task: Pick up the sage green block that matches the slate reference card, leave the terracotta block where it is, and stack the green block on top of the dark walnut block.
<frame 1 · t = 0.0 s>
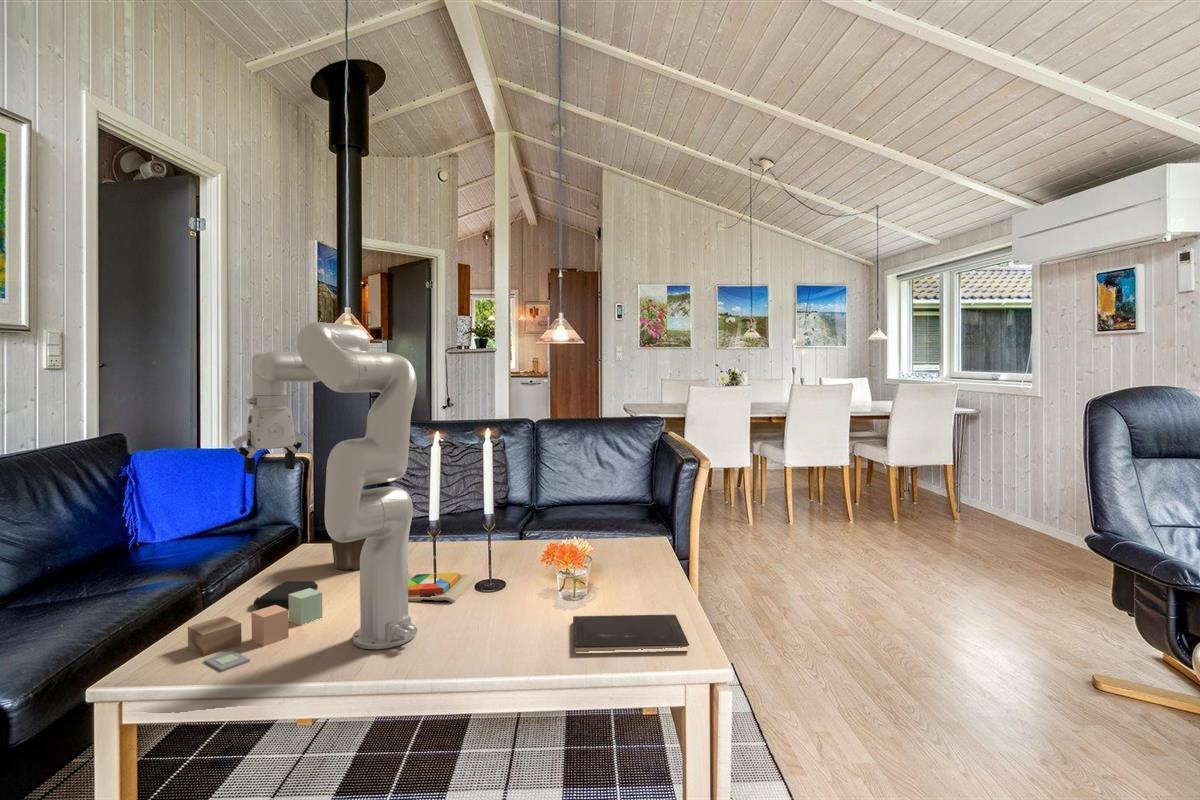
hand: (270, 471, 152), 31 cm above the table, tool pointing down, fingers open, 9 cm apart
carrying case or bag: (285, 601, 149), on the table
sage block: (305, 619, 137), on the table
plant pot: (356, 565, 178), on the table
reference card: (227, 661, 116), on the table
wooden puzzle: (430, 592, 157), on the table
terracotta block: (270, 639, 127), on the table
hardcover book: (627, 640, 128), on the table
walnut base: (215, 646, 123), on the table
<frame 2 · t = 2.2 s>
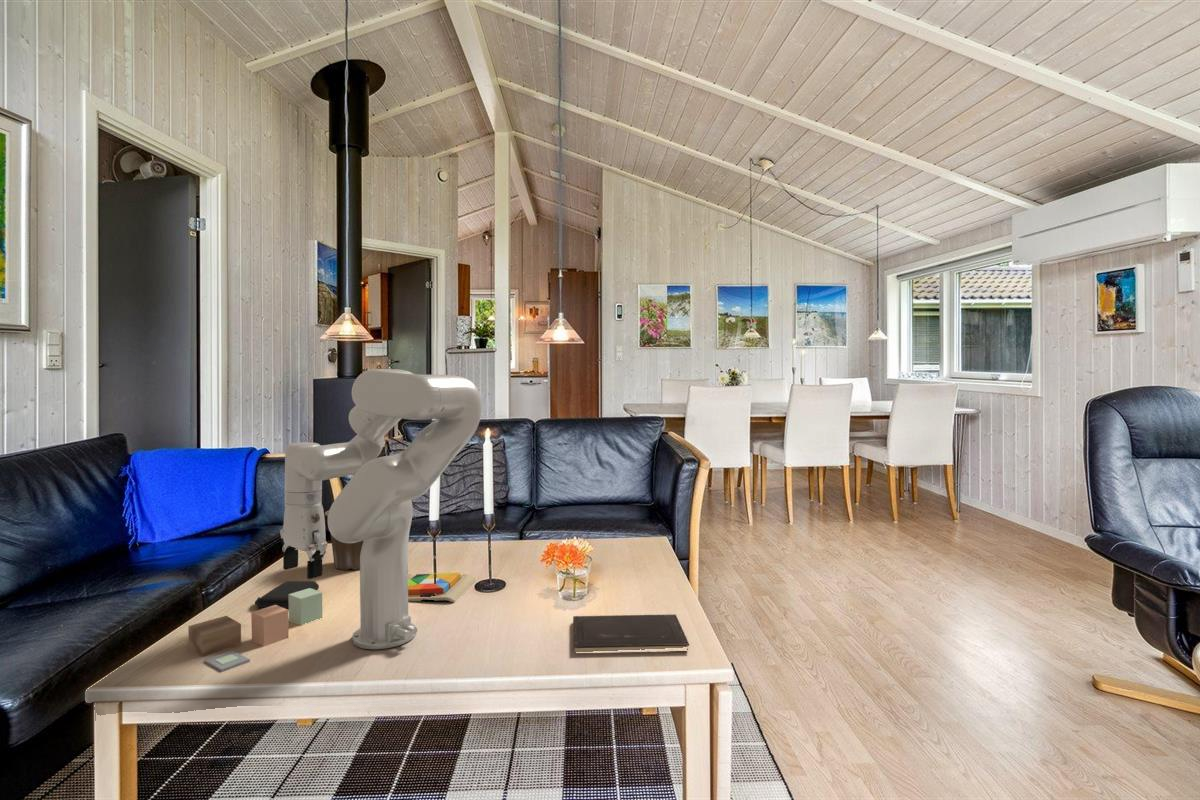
hand: (302, 572, 137), 11 cm above the table, tool pointing down, fingers open, 9 cm apart
nothing on the table moved.
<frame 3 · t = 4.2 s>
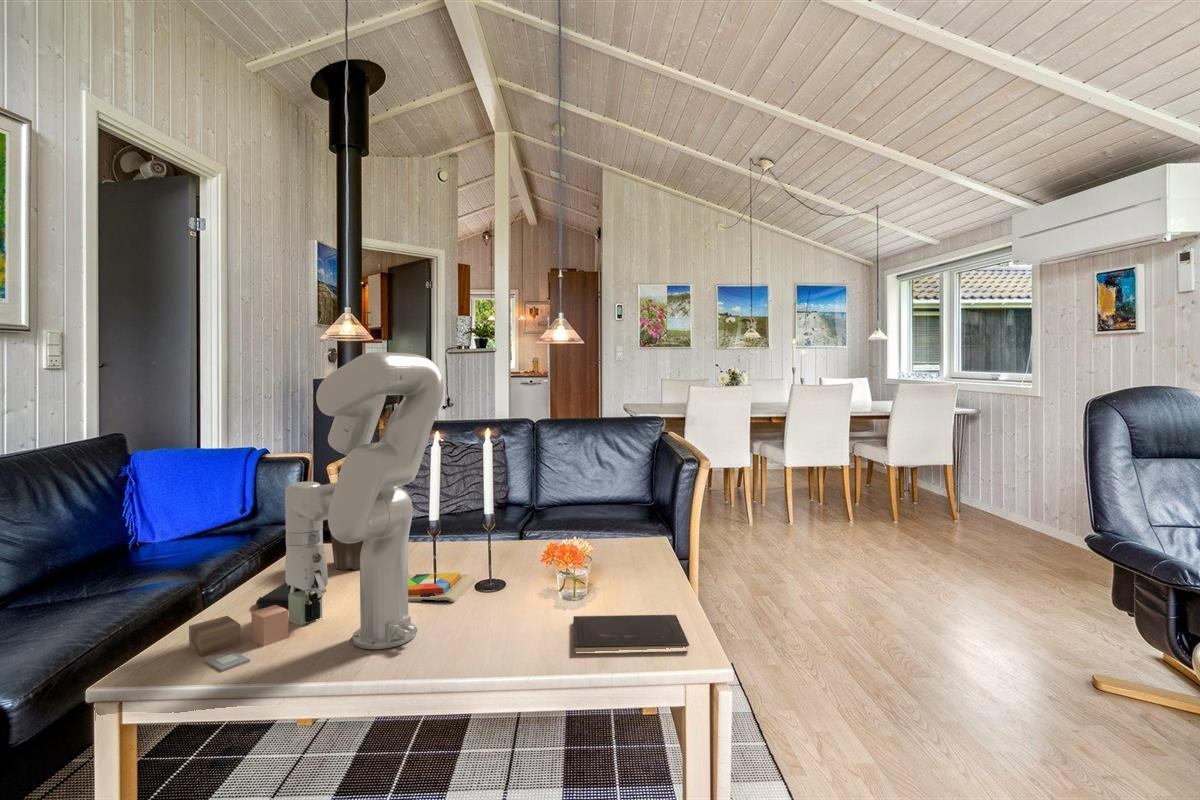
hand: (305, 616, 137), 1 cm above the table, tool pointing down, fingers closed on sage block, 5 cm apart
sage block: (305, 619, 137), on the table, touching gripper
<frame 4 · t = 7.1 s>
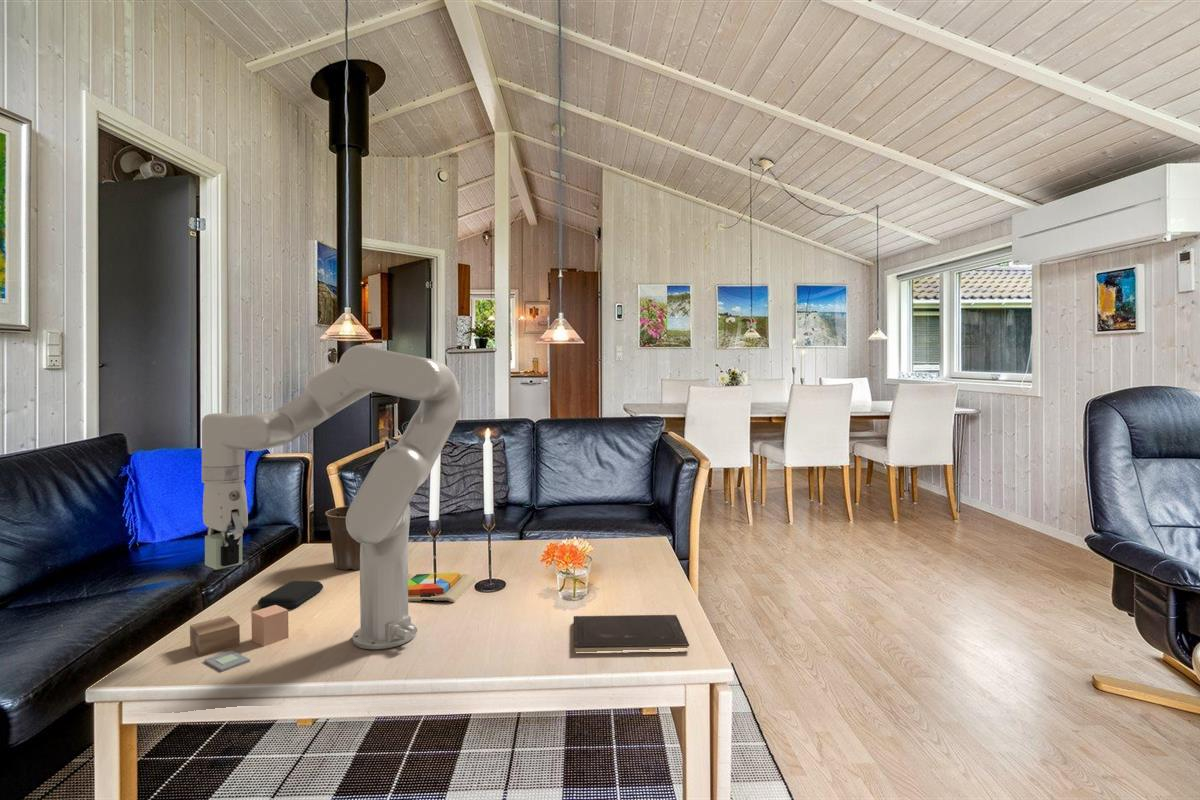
hand: (223, 561, 125), 17 cm above the table, tool pointing down, fingers closed on sage block, 4 cm apart
sage block: (223, 564, 125), point 16 cm above the table, touching gripper
when the fingers open (7 cm above the table, at t = 10.0 s): sage block drops 2 cm, point 4 cm above the table.
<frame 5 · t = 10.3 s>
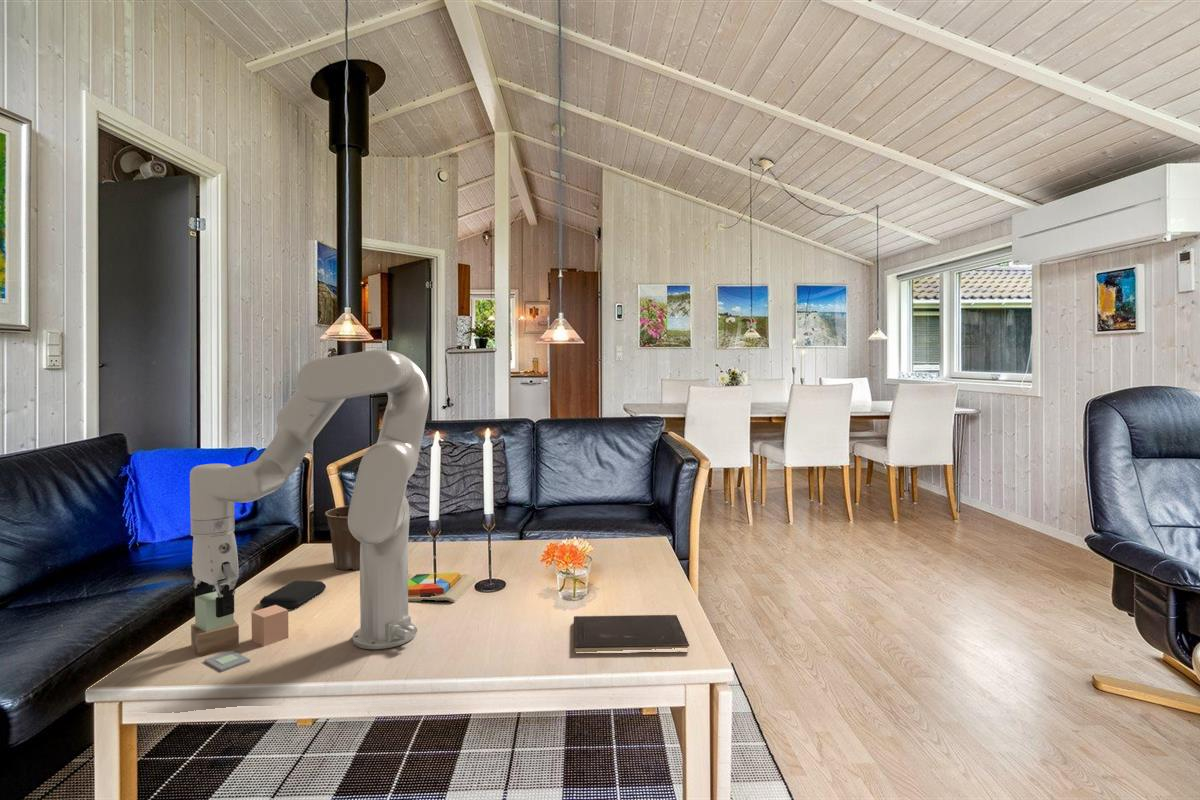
hand: (214, 610, 123), 7 cm above the table, tool pointing down, fingers open, 8 cm apart
sage block: (214, 624, 123), point 4 cm above the table
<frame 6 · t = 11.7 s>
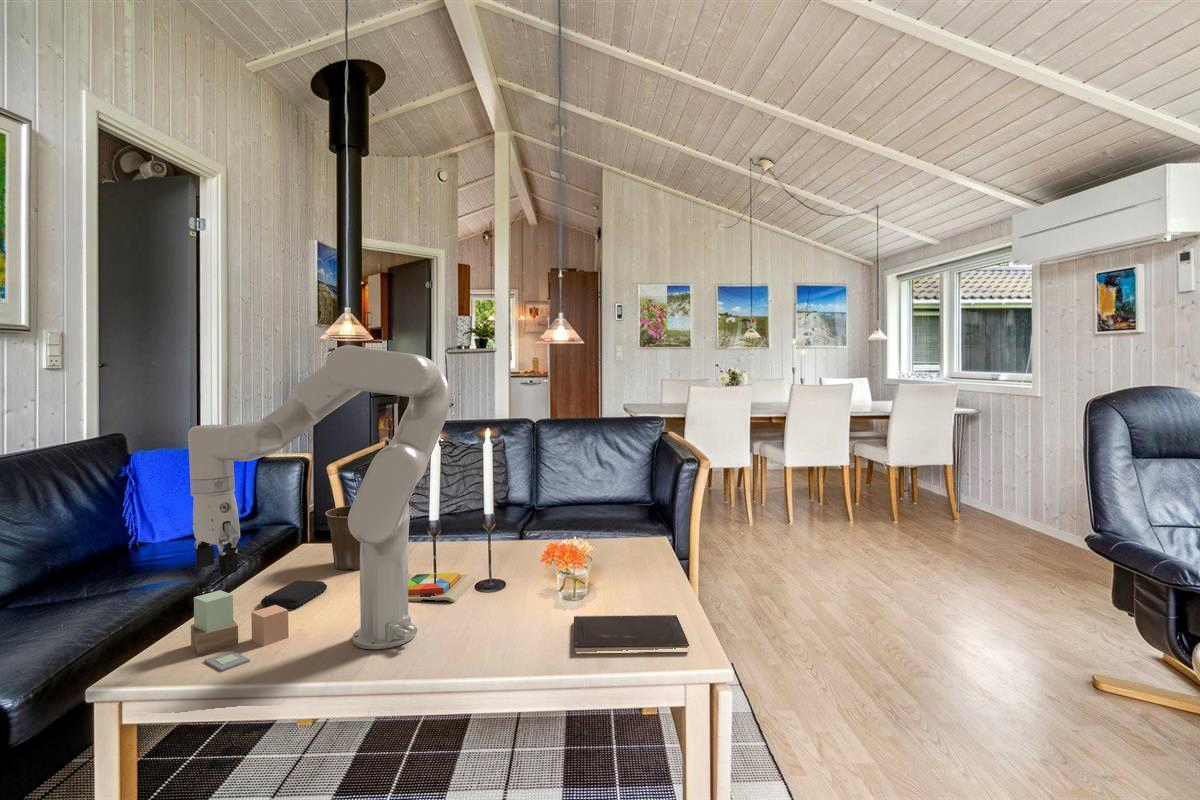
hand: (216, 569, 123), 16 cm above the table, tool pointing down, fingers open, 9 cm apart
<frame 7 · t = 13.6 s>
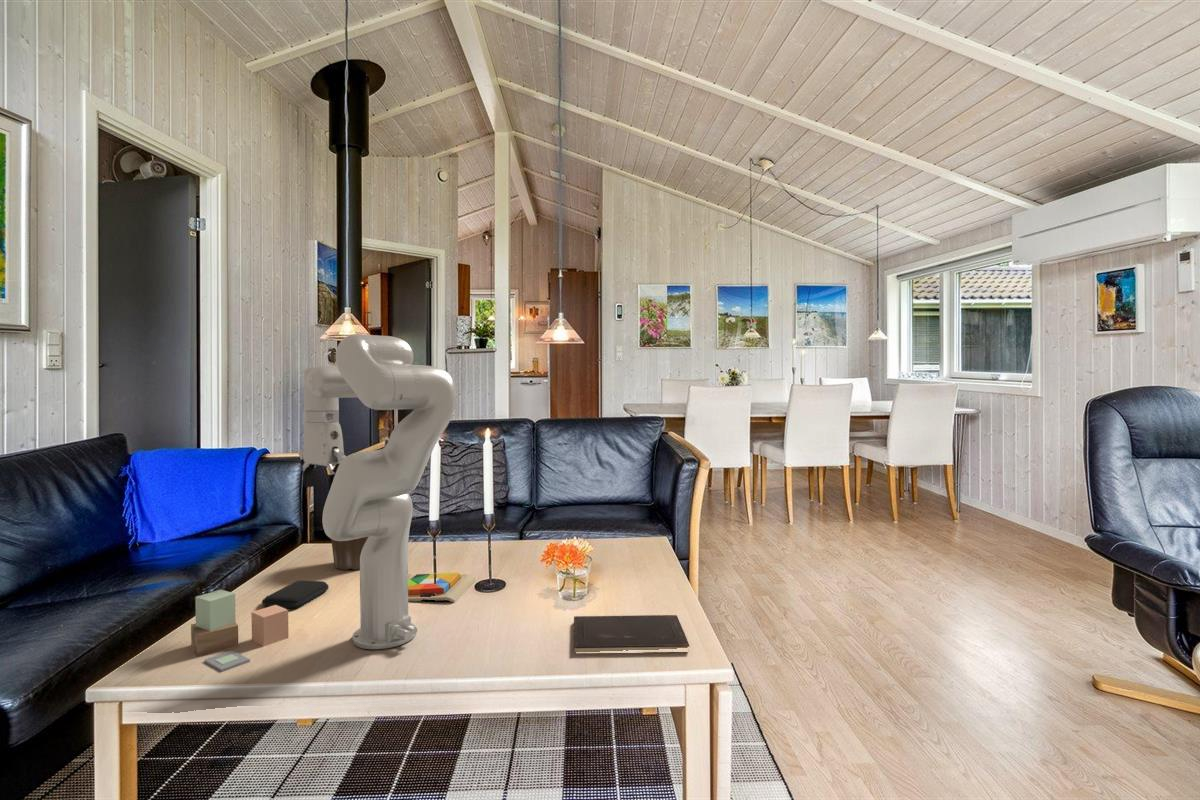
hand: (322, 488, 147), 28 cm above the table, tool pointing down, fingers open, 9 cm apart
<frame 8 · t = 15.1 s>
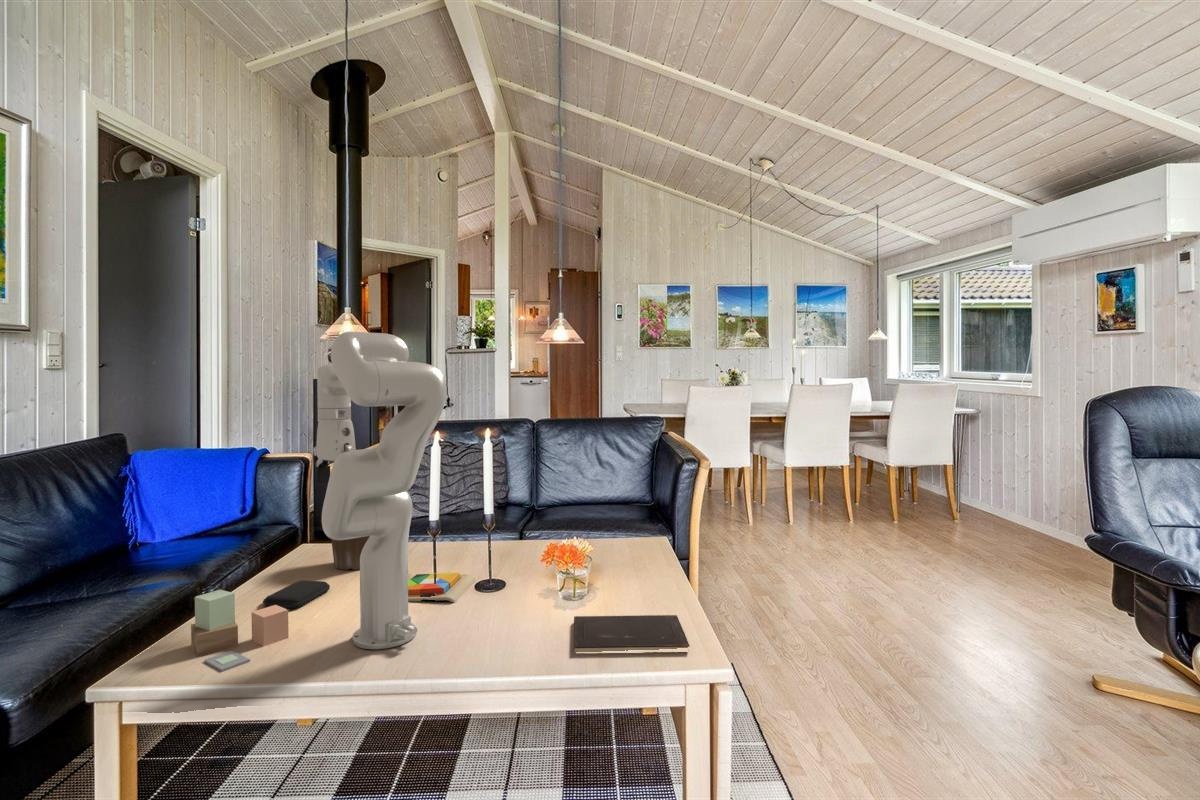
hand: (335, 484, 150), 28 cm above the table, tool pointing down, fingers open, 9 cm apart
at the end: sage block 0.4 cm off-centre on the walnut base, point 4.5 cm above the walnut base's base; sage block tilted 0°; the gripper is holding nothing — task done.
